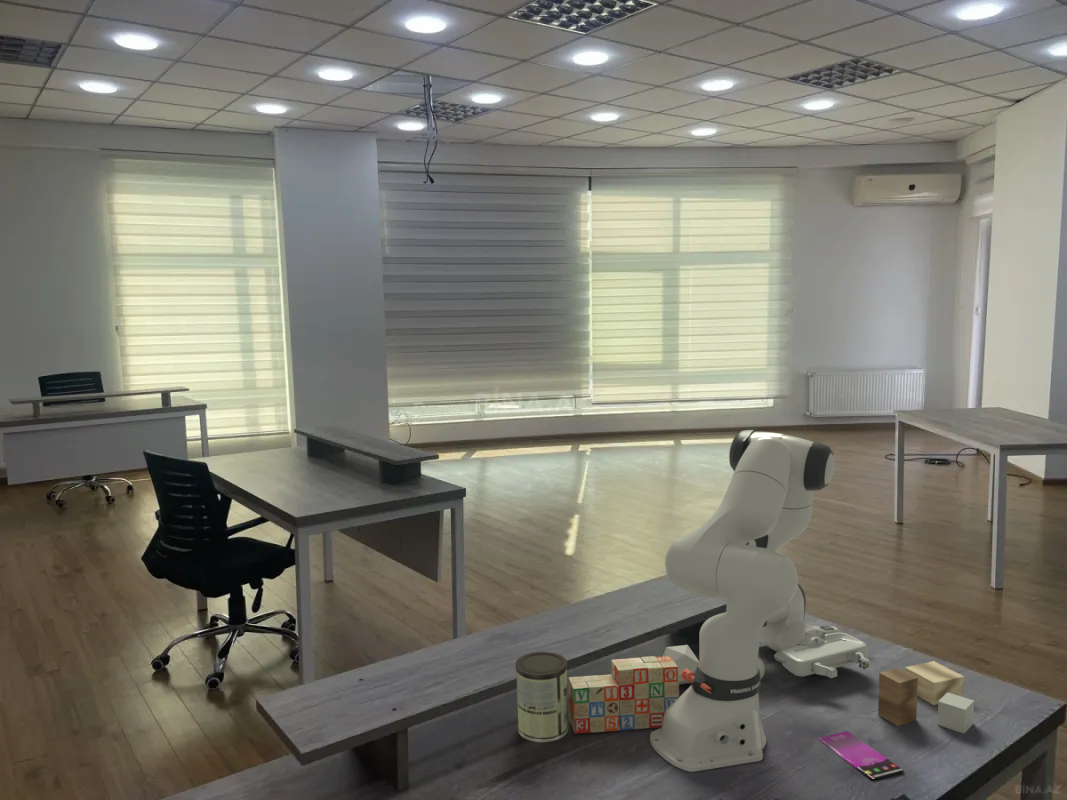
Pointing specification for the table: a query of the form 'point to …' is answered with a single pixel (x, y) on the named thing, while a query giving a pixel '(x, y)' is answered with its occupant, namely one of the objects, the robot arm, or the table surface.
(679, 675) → the white polyhedron
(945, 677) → the oak block
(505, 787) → the table surface
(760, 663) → the white sphere
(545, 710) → the coffee can
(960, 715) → the grey cube
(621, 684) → the stack of blocks
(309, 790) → the table surface
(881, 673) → the walnut block
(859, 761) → the smartphone
